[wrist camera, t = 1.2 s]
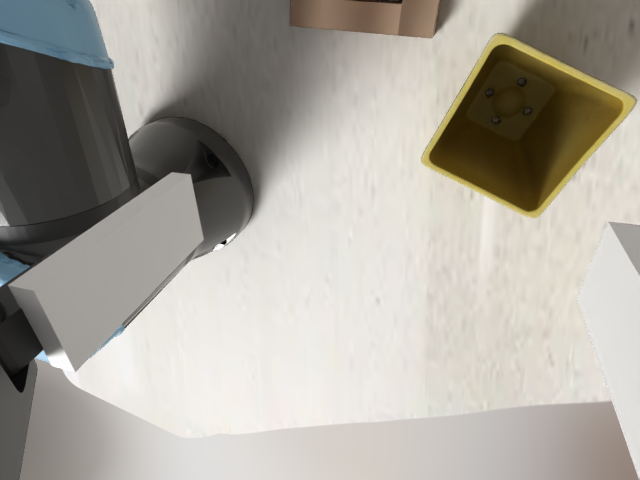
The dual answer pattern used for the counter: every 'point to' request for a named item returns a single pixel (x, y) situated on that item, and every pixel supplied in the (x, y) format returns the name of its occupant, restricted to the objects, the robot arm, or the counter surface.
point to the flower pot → (524, 126)
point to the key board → (368, 16)
